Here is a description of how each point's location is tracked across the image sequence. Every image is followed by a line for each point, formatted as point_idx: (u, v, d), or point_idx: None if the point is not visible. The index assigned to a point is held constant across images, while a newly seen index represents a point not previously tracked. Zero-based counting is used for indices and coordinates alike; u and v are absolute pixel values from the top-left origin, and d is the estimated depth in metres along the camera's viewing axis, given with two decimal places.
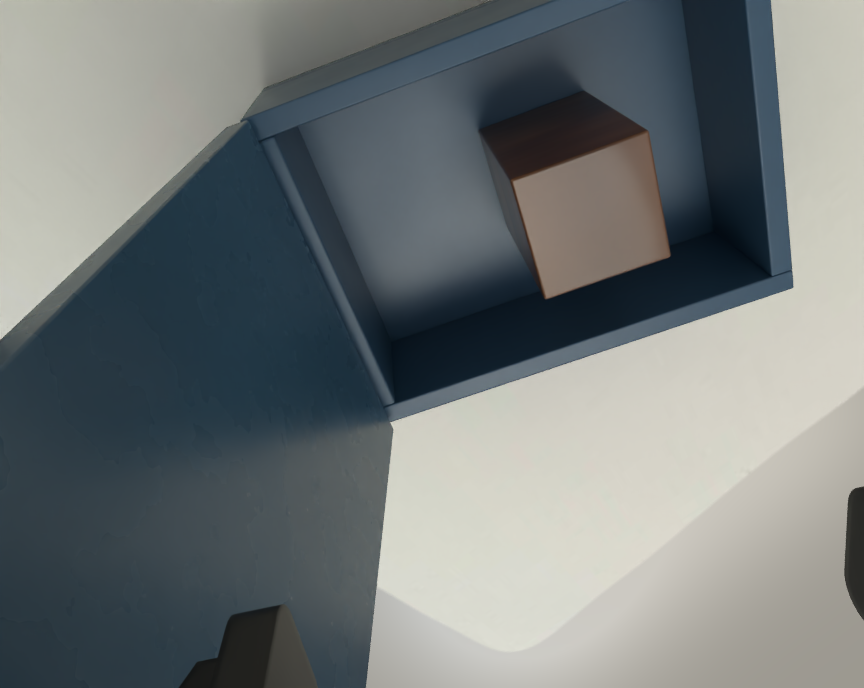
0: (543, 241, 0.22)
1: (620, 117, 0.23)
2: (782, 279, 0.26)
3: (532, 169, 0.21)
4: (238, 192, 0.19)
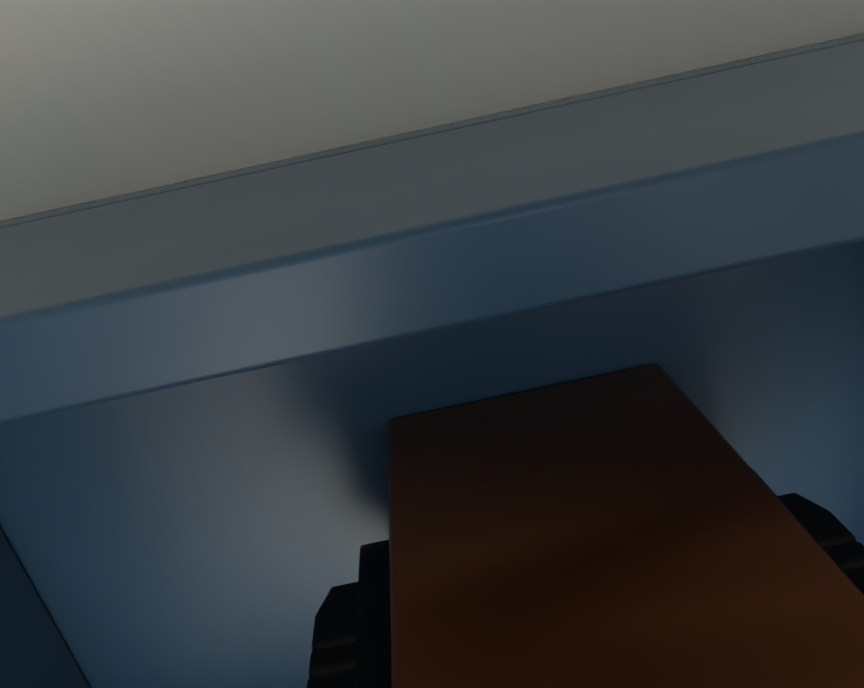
0: None
1: (833, 583, 0.06)
2: None
3: None
4: None
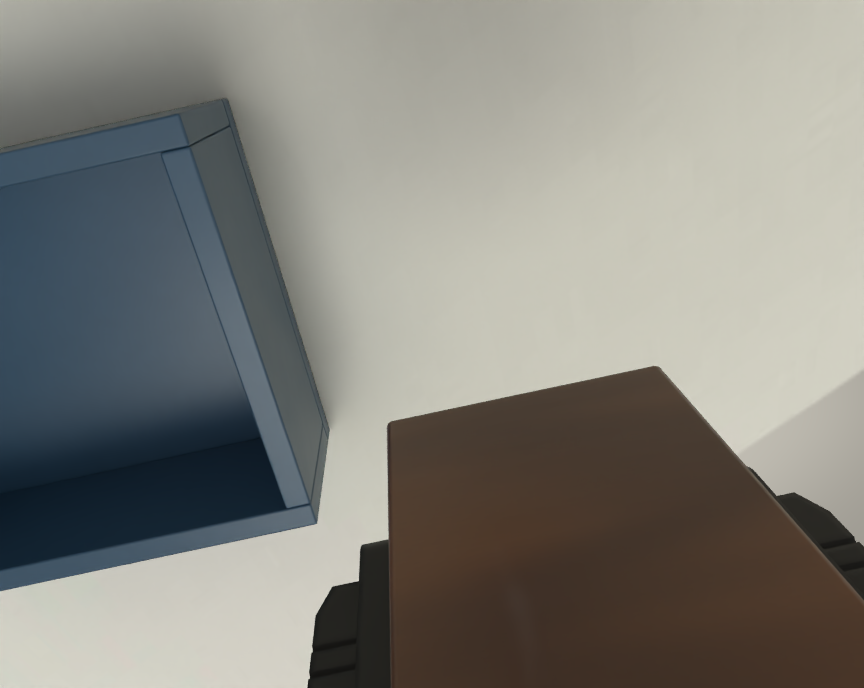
0: None
1: (831, 586, 0.06)
2: (300, 514, 0.22)
3: None
4: None
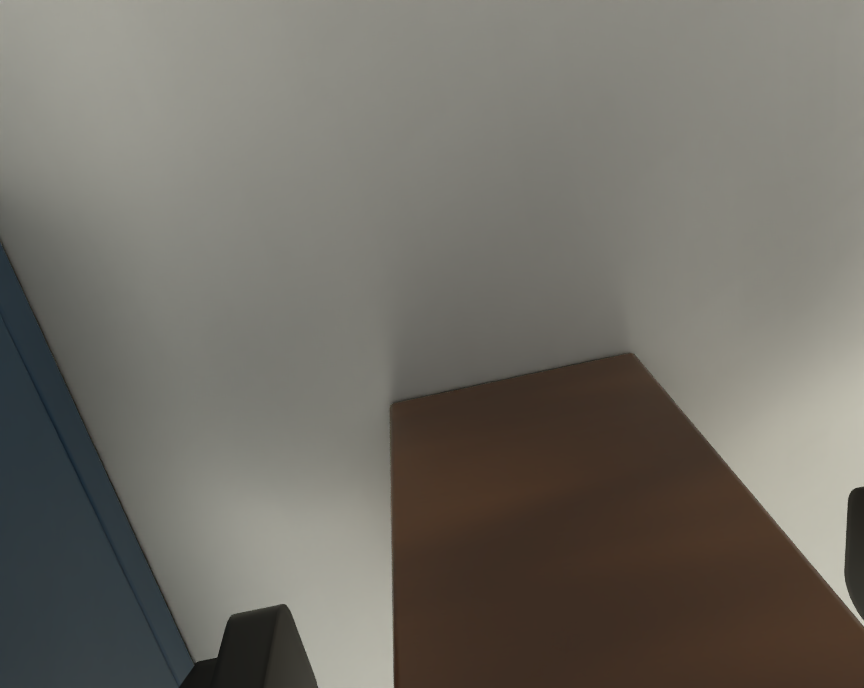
0: None
1: (763, 527, 0.08)
2: None
3: None
4: None
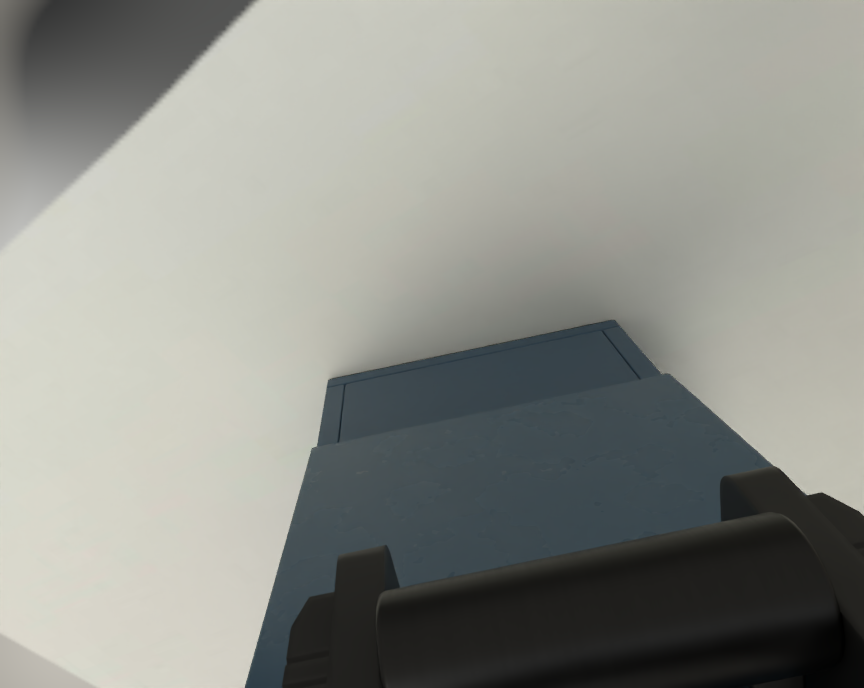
0: None
1: None
2: None
3: None
4: None
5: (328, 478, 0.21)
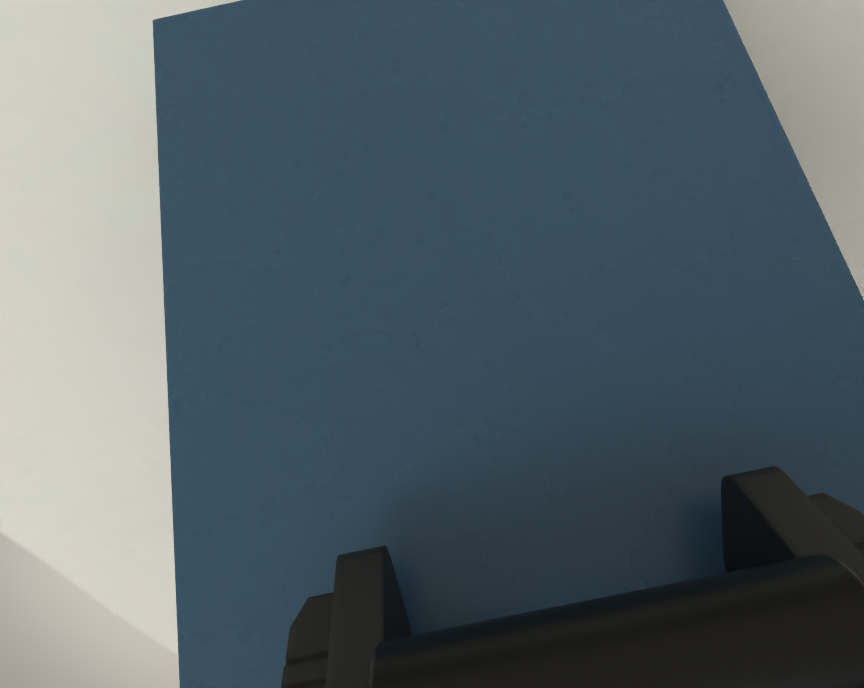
0: None
1: None
2: None
3: None
4: None
5: (193, 96, 0.15)
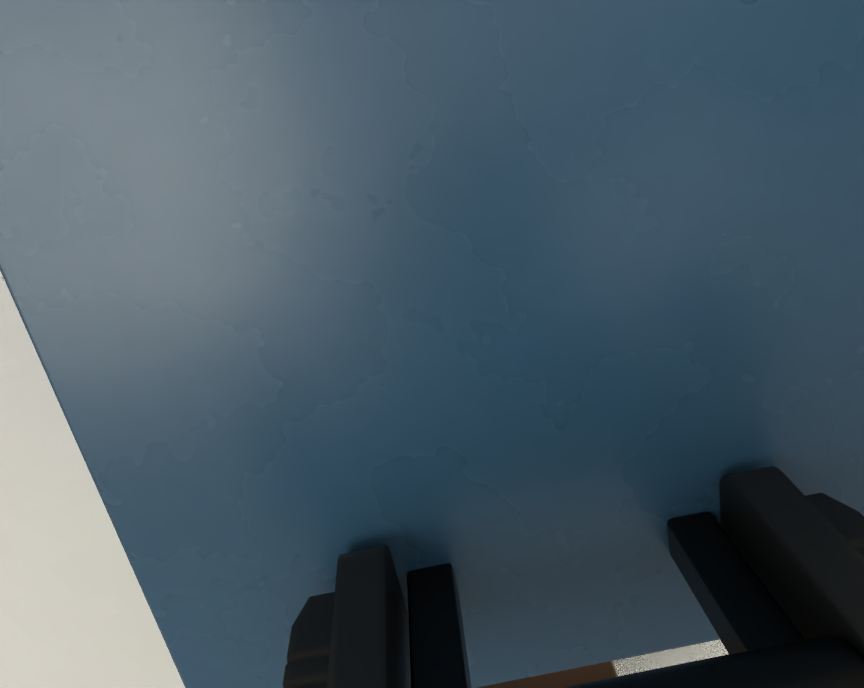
0: None
1: None
2: None
3: None
4: None
5: None
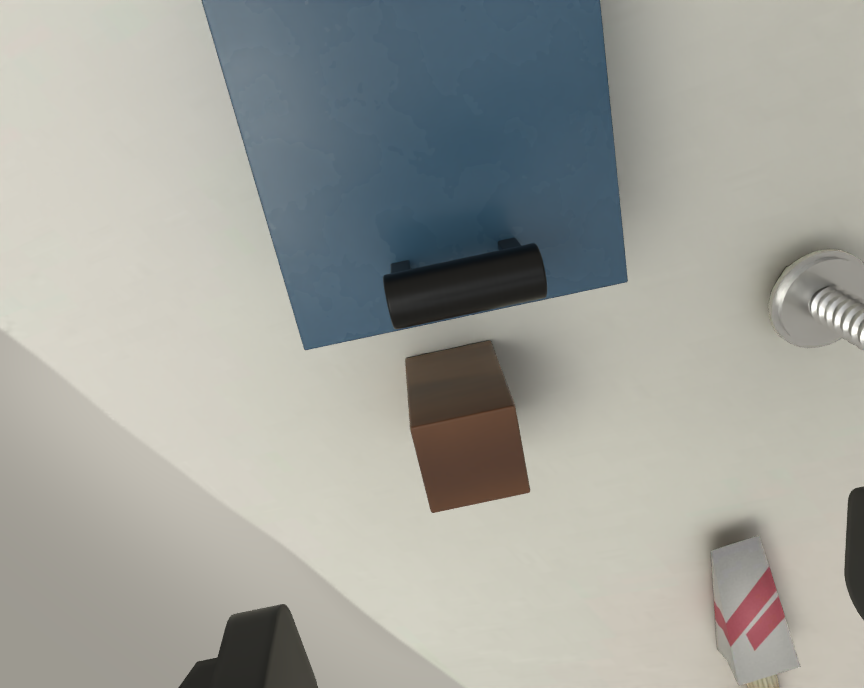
0: (461, 427, 0.28)
1: None
2: None
3: None
4: None
5: None
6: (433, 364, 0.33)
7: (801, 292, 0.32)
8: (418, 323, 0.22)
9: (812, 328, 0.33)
